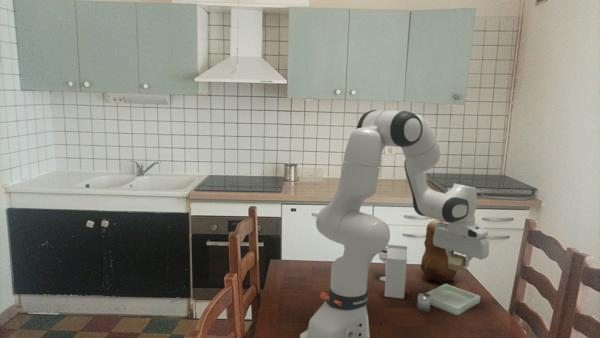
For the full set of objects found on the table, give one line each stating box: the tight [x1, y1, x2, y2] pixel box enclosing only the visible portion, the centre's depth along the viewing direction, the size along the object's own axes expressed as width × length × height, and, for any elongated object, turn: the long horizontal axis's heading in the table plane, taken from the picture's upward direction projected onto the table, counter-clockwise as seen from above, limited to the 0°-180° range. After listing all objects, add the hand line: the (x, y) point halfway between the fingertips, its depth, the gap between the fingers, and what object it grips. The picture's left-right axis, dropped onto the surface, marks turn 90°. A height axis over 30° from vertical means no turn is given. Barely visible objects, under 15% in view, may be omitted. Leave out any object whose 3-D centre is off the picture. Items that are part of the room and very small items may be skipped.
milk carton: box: [384, 244, 408, 299], centre depth 163 cm, size 7×7×19 cm
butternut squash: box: [420, 219, 457, 284], centre depth 177 cm, size 14×13×25 cm
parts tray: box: [425, 283, 481, 316], centre depth 159 cm, size 16×14×2 cm
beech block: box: [448, 253, 468, 273], centre depth 158 cm, size 4×4×4 cm
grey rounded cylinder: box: [416, 292, 431, 313], centre depth 152 cm, size 4×4×5 cm
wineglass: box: [378, 247, 387, 282], centre depth 178 cm, size 7×7×12 cm
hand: (458, 263), depth 159 cm, fingers closed on beech block, 4 cm apart
